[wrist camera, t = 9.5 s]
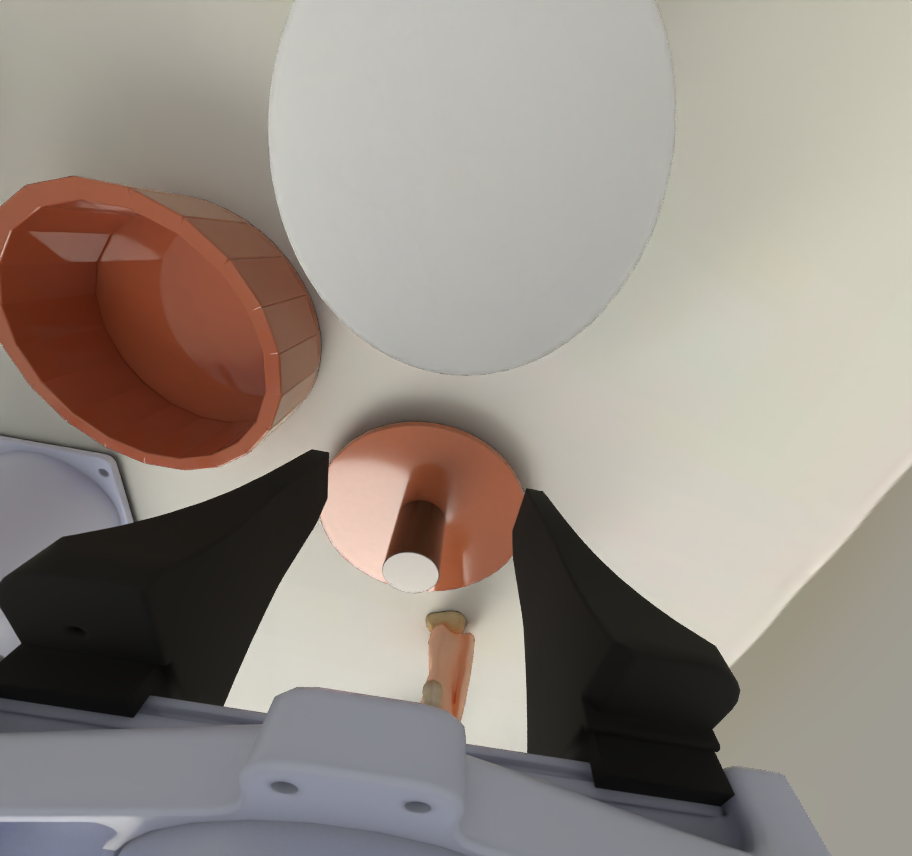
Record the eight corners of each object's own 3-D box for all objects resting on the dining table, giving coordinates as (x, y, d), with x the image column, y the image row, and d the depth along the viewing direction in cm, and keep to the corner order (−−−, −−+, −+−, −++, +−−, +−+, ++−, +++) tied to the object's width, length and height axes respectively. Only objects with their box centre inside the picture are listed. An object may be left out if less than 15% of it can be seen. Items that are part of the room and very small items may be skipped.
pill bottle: (454, 84, 12) (353, -665, 2) (587, 205, 14) (900, 87, 4) (368, 248, 15) (129, 248, 5) (488, 337, 16) (507, 489, 6)
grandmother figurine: (483, 658, 26) (489, 969, 15) (432, 662, 27) (400, 965, 15) (464, 585, 23) (452, 912, 12) (406, 591, 24) (341, 909, 12)
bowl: (320, 444, 19) (285, 488, 15) (122, 408, 18) (40, 445, 15) (322, 223, 14) (273, 215, 11) (59, 170, 14) (-80, 144, 10)
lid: (498, 589, 23) (503, 665, 19) (323, 560, 23) (289, 631, 18) (550, 438, 18) (572, 496, 14) (326, 397, 18) (280, 443, 13)
